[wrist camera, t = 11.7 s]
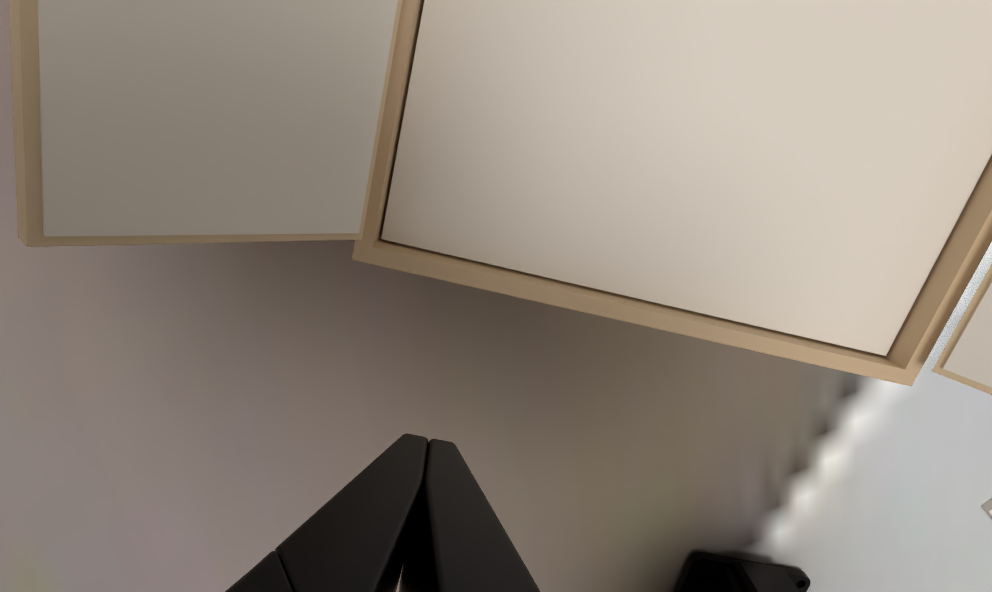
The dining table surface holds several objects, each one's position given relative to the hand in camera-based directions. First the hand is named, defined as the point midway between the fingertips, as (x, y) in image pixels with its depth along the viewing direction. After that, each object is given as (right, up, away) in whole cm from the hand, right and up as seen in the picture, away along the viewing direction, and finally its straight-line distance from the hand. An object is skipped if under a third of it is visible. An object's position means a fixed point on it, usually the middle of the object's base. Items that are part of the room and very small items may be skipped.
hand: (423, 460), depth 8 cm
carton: (+7, +10, +11) cm, 16 cm away
